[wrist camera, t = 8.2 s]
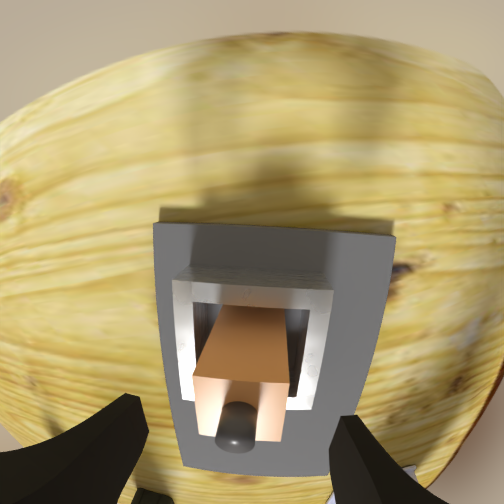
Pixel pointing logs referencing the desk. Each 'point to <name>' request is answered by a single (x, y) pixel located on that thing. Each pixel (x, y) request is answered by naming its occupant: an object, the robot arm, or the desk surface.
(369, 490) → the robot arm
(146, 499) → the black nozzle bottle
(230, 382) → the connector plug
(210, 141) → the desk surface
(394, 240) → the mat
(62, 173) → the desk surface
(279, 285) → the end holder
